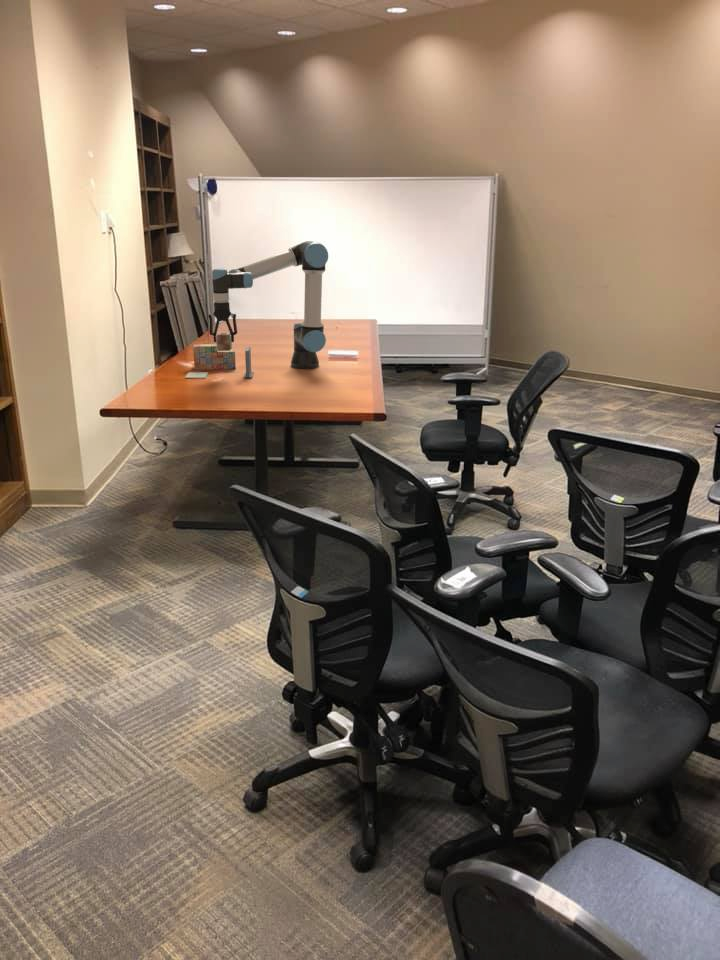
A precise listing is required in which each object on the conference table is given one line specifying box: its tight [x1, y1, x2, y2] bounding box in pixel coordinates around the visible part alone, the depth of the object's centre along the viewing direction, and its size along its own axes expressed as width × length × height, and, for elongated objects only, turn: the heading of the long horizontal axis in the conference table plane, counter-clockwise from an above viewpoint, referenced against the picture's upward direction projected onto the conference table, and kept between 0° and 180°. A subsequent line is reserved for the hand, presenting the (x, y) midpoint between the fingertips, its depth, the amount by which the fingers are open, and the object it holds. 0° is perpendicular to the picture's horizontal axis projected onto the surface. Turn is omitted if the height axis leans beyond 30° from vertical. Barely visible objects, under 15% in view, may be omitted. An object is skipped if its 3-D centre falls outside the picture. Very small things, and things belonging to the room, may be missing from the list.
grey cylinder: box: [216, 332, 232, 351], centre depth 379 cm, size 6×6×8 cm
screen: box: [243, 345, 255, 380], centre depth 383 cm, size 4×12×14 cm, turn 3°
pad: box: [184, 371, 209, 380], centre depth 384 cm, size 10×12×1 cm
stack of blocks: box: [192, 343, 237, 370], centre depth 401 cm, size 21×6×12 cm, turn 99°
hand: (224, 348), depth 380 cm, fingers closed on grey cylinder, 6 cm apart
